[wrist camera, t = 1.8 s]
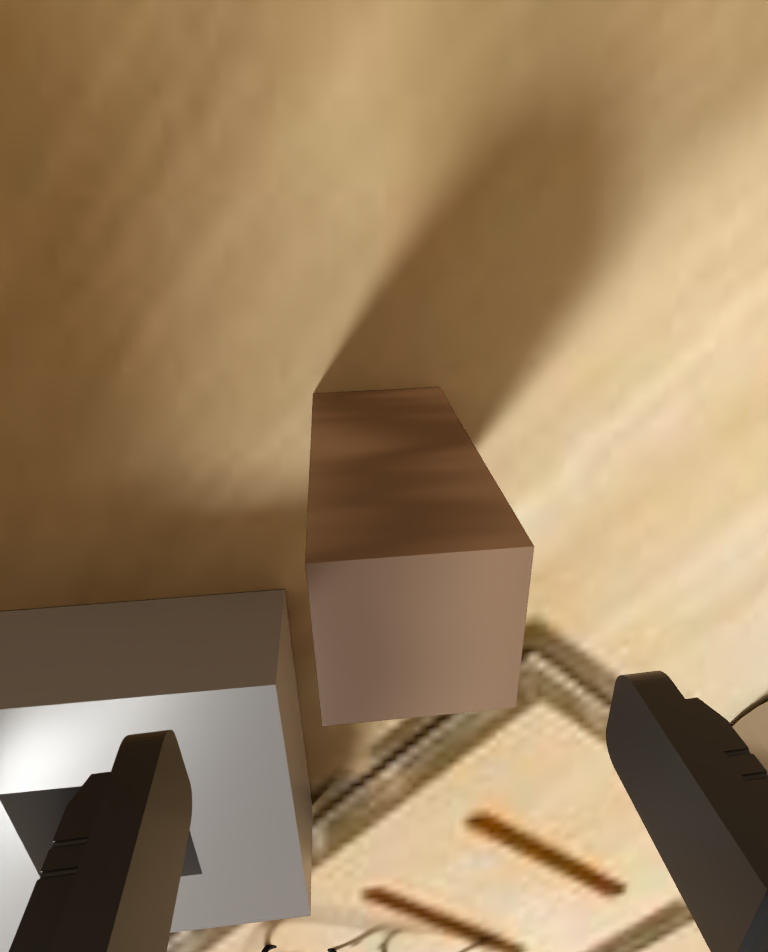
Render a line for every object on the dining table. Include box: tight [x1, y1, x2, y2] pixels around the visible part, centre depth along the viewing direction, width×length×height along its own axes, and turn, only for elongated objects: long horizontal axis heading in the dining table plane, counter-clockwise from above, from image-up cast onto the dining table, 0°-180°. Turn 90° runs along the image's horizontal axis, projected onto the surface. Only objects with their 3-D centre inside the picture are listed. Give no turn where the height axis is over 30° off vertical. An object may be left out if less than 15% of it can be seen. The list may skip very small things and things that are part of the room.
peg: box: [305, 387, 534, 726], centre depth 16 cm, size 4×4×10 cm
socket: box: [0, 589, 312, 952], centre depth 23 cm, size 18×14×5 cm
